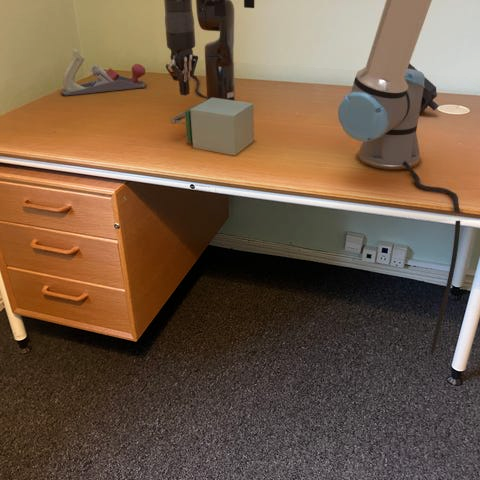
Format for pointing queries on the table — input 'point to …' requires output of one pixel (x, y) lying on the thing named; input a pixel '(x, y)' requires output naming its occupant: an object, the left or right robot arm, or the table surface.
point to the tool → (427, 93)
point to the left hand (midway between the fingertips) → (184, 94)
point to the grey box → (222, 125)
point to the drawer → (187, 116)
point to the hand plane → (105, 80)
